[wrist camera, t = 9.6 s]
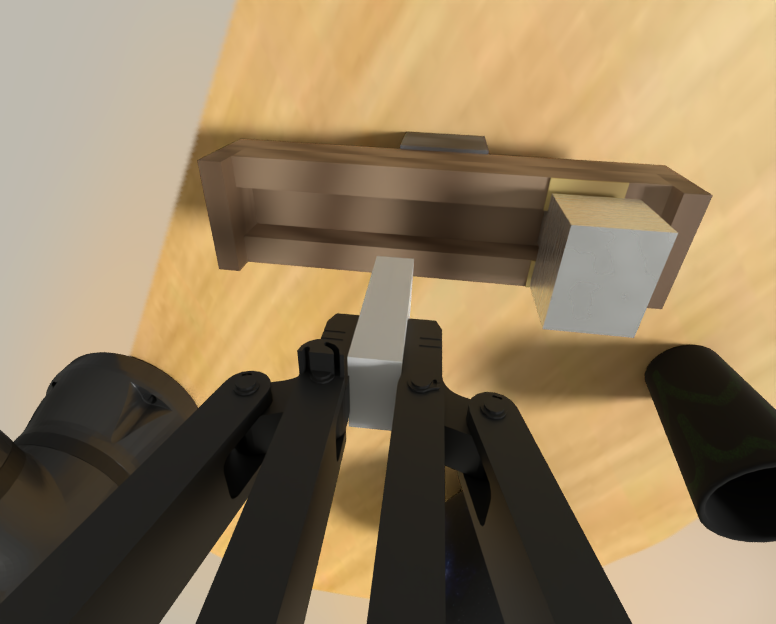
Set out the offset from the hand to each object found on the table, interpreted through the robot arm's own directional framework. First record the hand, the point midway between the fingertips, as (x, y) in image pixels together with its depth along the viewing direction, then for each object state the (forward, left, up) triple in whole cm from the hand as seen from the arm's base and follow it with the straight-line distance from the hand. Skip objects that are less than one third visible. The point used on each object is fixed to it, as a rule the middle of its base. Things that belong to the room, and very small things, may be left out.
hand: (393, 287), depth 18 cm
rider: (+9, 0, -8) cm, 12 cm away
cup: (+23, -14, -15) cm, 30 cm away
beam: (+2, 0, -14) cm, 14 cm away
